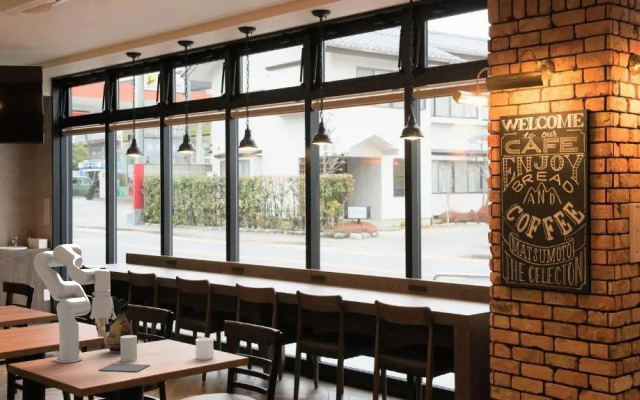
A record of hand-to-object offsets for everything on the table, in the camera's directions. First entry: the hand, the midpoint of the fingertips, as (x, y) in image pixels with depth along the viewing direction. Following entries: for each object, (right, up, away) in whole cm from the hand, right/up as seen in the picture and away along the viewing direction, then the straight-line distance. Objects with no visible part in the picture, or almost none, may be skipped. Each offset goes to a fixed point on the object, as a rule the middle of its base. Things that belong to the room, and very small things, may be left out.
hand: (103, 331), depth 387 cm
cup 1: (+9, -17, +15) cm, 24 cm away
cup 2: (+47, -17, +17) cm, 53 cm away
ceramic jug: (-3, -17, +37) cm, 41 cm away
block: (0, -2, 0) cm, 2 cm away
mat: (+12, -17, -5) cm, 21 cm away
